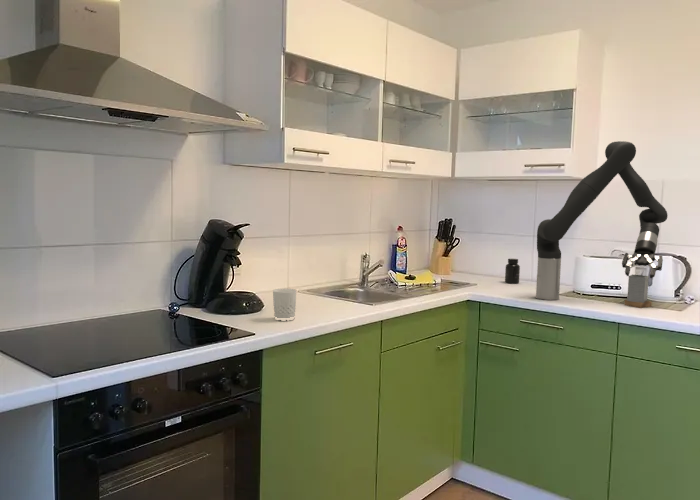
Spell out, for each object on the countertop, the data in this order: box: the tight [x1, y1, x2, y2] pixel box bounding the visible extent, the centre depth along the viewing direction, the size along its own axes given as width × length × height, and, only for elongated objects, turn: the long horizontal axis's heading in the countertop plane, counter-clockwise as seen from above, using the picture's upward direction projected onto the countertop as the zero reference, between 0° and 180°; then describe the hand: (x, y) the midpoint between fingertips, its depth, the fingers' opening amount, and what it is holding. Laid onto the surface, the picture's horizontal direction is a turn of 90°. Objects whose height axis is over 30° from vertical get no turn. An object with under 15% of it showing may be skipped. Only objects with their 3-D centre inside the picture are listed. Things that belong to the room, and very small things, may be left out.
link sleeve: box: [626, 274, 650, 303], centre depth 233 cm, size 6×6×10 cm
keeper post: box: [624, 299, 653, 309], centre depth 234 cm, size 7×7×10 cm
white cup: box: [272, 288, 297, 318], centre depth 199 cm, size 8×8×10 cm
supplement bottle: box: [504, 258, 521, 285], centre depth 290 cm, size 7×7×12 cm
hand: (639, 275), depth 232 cm, fingers open, 8 cm apart
